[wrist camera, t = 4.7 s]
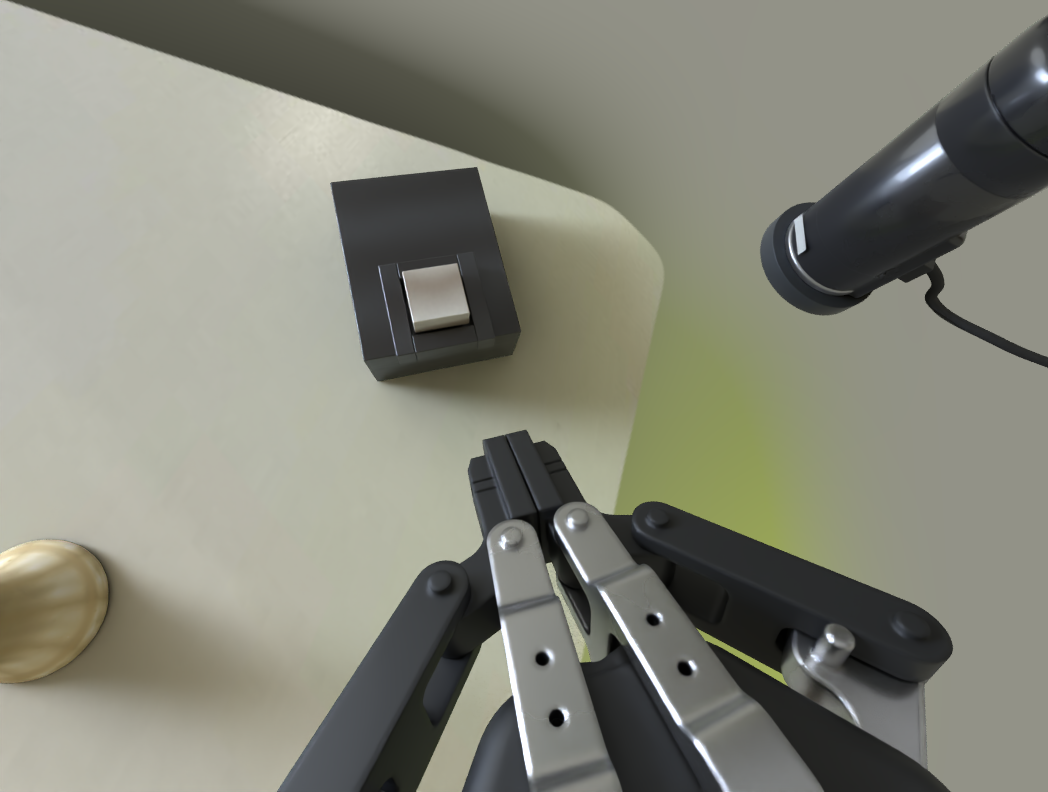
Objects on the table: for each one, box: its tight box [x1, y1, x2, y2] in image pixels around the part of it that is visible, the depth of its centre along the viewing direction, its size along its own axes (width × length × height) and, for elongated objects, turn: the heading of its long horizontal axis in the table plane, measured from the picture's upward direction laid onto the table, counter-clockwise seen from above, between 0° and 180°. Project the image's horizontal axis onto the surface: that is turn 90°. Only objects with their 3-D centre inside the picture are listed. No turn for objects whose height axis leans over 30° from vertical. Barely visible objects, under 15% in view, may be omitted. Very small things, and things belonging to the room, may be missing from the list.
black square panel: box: [330, 167, 521, 381], centre depth 33 cm, size 15×11×7 cm
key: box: [402, 263, 470, 333], centre depth 28 cm, size 4×4×2 cm
